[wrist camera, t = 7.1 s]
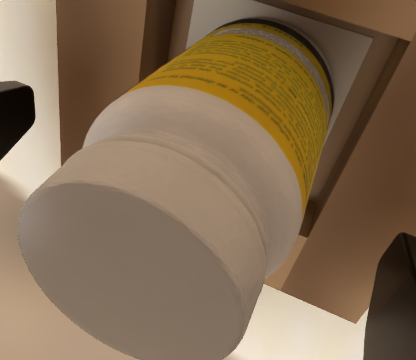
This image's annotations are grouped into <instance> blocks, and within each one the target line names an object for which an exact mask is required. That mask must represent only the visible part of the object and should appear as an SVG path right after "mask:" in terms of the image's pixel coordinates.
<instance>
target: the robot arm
mask: <svg viewBox="0 0 416 360" xmlns="http://www.w3.org/2000/svg"><path fill="white" fill-rule="evenodd" d="M34 121H35V103H34V92H33V90H32V88H31V87H30V86H28V85H25V84H23V83H20V82H18V81H5V82H0V160H1V159H2V158H3V157H4V156H5V155H6V154H7V153H8V152H9V151H10V150H11V148H12V147H13V146H14V145H15V144H16V143H17V142H18V141H19V140H20V139H21V138H22V136H23V135H24V134H25V133H26V132H27V131H28V130H29V129H30V128H31V127H32V125H33V123H34ZM363 360H416V237H415V236H413V235H410V234H407V233H405V232H401V233H399V234H398V235H397V236H396V237H395V238H394V240H393V241H392V243H391V244H390V245H389V247H388V248H387V249H386V251H385V252H384V254H383V255H382V257H381V258H380V260H379V263H378V266H377V270H376V275H375V280H374V286H373V291H372V296H371V301H370V306H369V311H368V316H367V322H366V328H365V339H364V356H363Z"/></svg>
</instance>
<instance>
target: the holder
mask: <svg viewBox="0 0 416 360" xmlns="http://www.w3.org/2000/svg"><path fill="white" fill-rule="evenodd" d="M56 14H57V46H58V77H59V109H60V141H61V167H62V166H63V164H64V163H65V162H66V161H67V160H68V159H69V158H70V157H71V156H72V155H73V154H75V153H76V152H77V151H79V150H81V149H82V148H83V144H84V141H85V138H86V135H87V133H88V131H89V129H90V127H91V126H92V124H93V122H94V121H95V119H96V118H97V117H98V116H99V115H100V113H101V112H102V111H103V110H104V109H105V108H106V107H108V106H109V105H110V104H111V103H112V102H113V101H115V100H116V99H117V98H118V97H119V96H120V95H122V94H123V93H125V92H126V91H127V90H129V89H130V88H132V87H134V86H135V85H136V84H138V83H139V82H141V81H142V80H144V79H145V78H146V77H148V76H149V75H151V74H152V73H154V72H155V71H157V70H158V69H159V68H161V67H162V66H163V65H164V64H166V63H167V62H169V61H171V60H172V59H174V58H175V57H177V56H178V55H179V54H181V53H182V52H184V51H185V50H186V49H188V48H189V47H190V46H192V45H193V44H195V43H197V42H198V41H199V40H201V39H202V38H204V37H205V36H206V35H207V34H209V33H211V32H212V31H214V30H215V29H217V28H218V27H220V26H222V25H224V24H226V23H229V22H231V21H234V20H238V19H242V18H249V17H263V18H271V19H275V20H279V21H282V22H285V23H287V24H289V25H292V26H294V27H295V28H297V29H299V30H300V31H302V32H303V33H305V34H306V35H307V36H308V37H309V38H310V39H311V40H312V41H313V42H314V43H315V44H316V45H317V46H318V47H319V49H320V50H321V51H322V53H323V54H324V56H325V58H326V60H327V62H328V64H329V66H330V69H331V72H332V76H333V80H334V89H335V100H334V108H333V113H332V117H331V120H330V124H329V127H328V131H327V134H326V137H325V141H324V144H323V148H322V152H321V155H320V159H319V162H318V166H317V169H316V173H315V176H314V180H313V184H312V187H311V191H310V194H309V198H308V201H307V205H306V209H305V213H304V217H303V221H302V224H301V228H300V231H299V234H298V237H297V240H296V243H295V245H294V247H293V249H292V251H291V252H290V254H289V255H288V257H287V258H286V260H285V261H284V262H283V264H282V265H281V266H280V267H279V268H278V269H277V270H276V271H275V272H274V273H273V274H271V275H270V276H269V277H267V278H265V280H264V284H266V285H268V286H270V287H273V288H275V289H277V290H280V291H282V292H284V293H286V294H289V295H291V296H293V297H296V298H298V299H300V300H302V301H305V302H307V303H309V304H312V305H314V306H316V307H318V308H321V309H323V310H325V311H328V312H330V313H332V314H334V315H337V316H339V317H341V318H344V319H346V320H348V321H350V322H353V323H355V324H356V323H357V321H358V320H359V319H360V318H361V316H362V315H363V314H364V312H365V311H366V310H367V309H368V307H369V306H370V301H371V296H372V291H373V286H374V280H375V275H376V270H377V266H378V263H379V260H380V258H381V257H382V255H383V254H384V252H385V251H386V249H387V248H388V247H389V245H390V244H391V243H392V241H393V240H394V238H395V237H396V236H397V235H398V234H399V233H401V232H405V233H407V234H410V235H413V236H415V237H416V0H56Z"/></svg>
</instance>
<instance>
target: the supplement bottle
mask: <svg viewBox="0 0 416 360" xmlns="http://www.w3.org/2000/svg"><path fill="white" fill-rule="evenodd" d="M334 100H335V89H334V80H333V76H332V72H331V69H330V66H329V64H328V62H327V60H326V58H325V56H324V54H323V53H322V51H321V50H320V49H319V47H318V46H317V45H316V44H315V43H314V42H313V41H312V40H311V39H310V38H309V37H308V36H307V35H306V34H305V33H303V32H302V31H300V30H299V29H297V28H295V27H294V26H292V25H289V24H287V23H285V22H282V21H279V20H275V19H271V18H263V17H249V18H242V19H238V20H234V21H231V22H229V23H226V24H224V25H222V26H220V27H218V28H217V29H215V30H214V31H212V32H211V33H209V34H207V35H206V36H205V37H204V38H202V39H201V40H199V41H198V42H197V43H195V44H193V45H192V46H190V47H189V48H188V49H186V50H185V51H184V52H182V53H181V54H179V55H178V56H177V57H175V58H174V59H172V60H171V61H169V62H167V63H166V64H164V65H163V66H162V67H161V68H159V69H158V70H157V71H155V72H154V73H152V74H151V75H149V76H148V77H146V78H145V79H144V80H142V81H141V82H139V83H138V84H136V85H135V86H134V87H132V88H130V89H129V90H127V91H126V92H125V93H123V94H122V95H120V96H119V97H118V98H117V99H116V100H115V101H113V102H112V103H111V104H110V105H109V106H108V107H106V108H105V109H104V110H103V111H102V112H101V113H100V115H99V116H98V117H97V118H96V119H95V121H94V122H93V124H92V126H91V127H90V129H89V131H88V133H87V135H86V138H85V141H84V144H83V148H82V149H81V150H79V151H77V152H76V153H75V154H73V155H72V156H71V157H70V158H69V159H68V160H67V161H66V162H65V163H64V164H63V166H62V167H61V168H59V169H58V170H57V171H56V172H55V173H54V174H53V175H52V176H51V177H50V178H48V179H47V180H46V181H45V182H44V183H43V184H42V185H41V186H40V187H39V188H37V189H36V190H35V191H34V192H33V193H32V194H31V195H30V197H29V198H28V199H27V201H26V202H25V204H24V206H23V208H22V210H21V212H20V216H19V222H18V240H19V245H20V249H21V252H22V255H23V258H24V260H25V263H26V264H27V267H28V269H29V271H30V272H31V274H32V276H33V277H34V279H35V281H36V282H37V284H38V285H39V287H40V288H41V289H42V291H43V292H44V293H45V295H46V296H47V297H48V298H49V299H50V300H51V302H52V303H54V304H55V306H57V308H58V309H60V311H61V312H62V313H64V314H65V315H66V316H67V317H68V318H69V319H70V320H71V321H73V322H74V323H75V324H76V325H78V326H79V327H80V328H81V329H83V330H84V331H86V332H87V333H88V334H90V335H91V336H93V337H94V338H96V339H97V340H99V341H101V342H102V343H104V344H106V345H108V346H110V347H112V348H114V349H115V350H118V351H120V352H122V353H124V354H127V355H130V356H132V357H134V358H137V359H140V360H222V359H224V358H225V357H226V356H228V355H229V354H230V353H231V352H232V351H233V350H234V349H236V347H237V346H238V344H239V343H240V341H241V340H242V338H243V336H244V334H245V331H246V329H247V326H248V324H249V321H250V318H251V315H252V313H253V310H254V307H255V305H256V302H257V299H258V296H259V294H260V292H261V290H262V287H263V283H264V280H265V278H267V277H269V276H270V275H271V274H273V273H274V272H275V271H276V270H277V269H278V268H279V267H280V266H281V265H282V264H283V262H284V261H285V260H286V258H287V257H288V255H289V254H290V252H291V251H292V249H293V247H294V245H295V243H296V240H297V237H298V234H299V231H300V228H301V224H302V221H303V217H304V213H305V209H306V205H307V201H308V198H309V194H310V191H311V187H312V184H313V180H314V176H315V173H316V169H317V166H318V162H319V159H320V155H321V152H322V148H323V144H324V141H325V137H326V134H327V131H328V127H329V124H330V120H331V117H332V113H333V108H334Z"/></svg>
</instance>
